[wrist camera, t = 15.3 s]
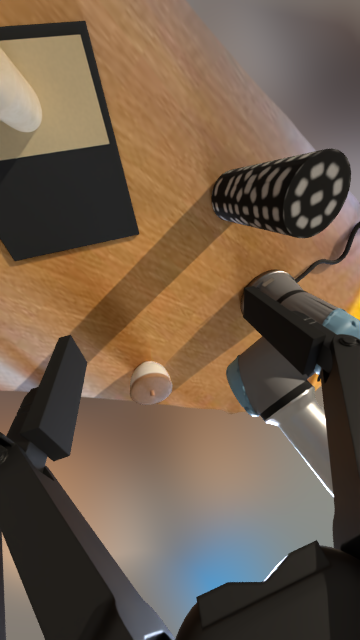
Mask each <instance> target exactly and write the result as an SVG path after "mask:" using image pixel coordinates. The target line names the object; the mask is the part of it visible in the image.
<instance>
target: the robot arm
mask: <svg viewBox="0 0 360 640" xmlns="http://www.w3.org/2000/svg"><path fill="white" fill-rule="evenodd" d="M359 228H360V222H359V223H358V224H357V225H356V226H355V227H354V229H353V230H352V232H351V234H350V236H349V239H348V242H347V245H346V248H345V250H344V252H343V254H342V255H341V256H340V257H339V258H338V259H337V260H334V261H331V260H326V259H321V260H318V261H316V262H315V263H313V264H312V265H311V266H310V267H309V268H308V269H307V270H306V271H305V272H304V273H302V274H301V275H300V276H299V277H298V278H296V279H294V278H293V277H292V276H291V275H290V274H288V273H286V272H284V271H281V270H270V271H266V272H264V273H262V274H260V275H259V276H257V277H256V278H255V279H254V280H253V281H252V282H251V283H250V284H249V285H248V286H247V287H246V288H244V293H243V296H242V299H241V311H242V314H243V317H244V318H245V319H246V320H247V321H248V322H249V323H250V324H251V325H252V326H253V327H254V328H255V329H256V330H257V331H258V332H259V333H260V334H261V335H262V337H261V338H260V339H259V340H257V341H256V342H255V343H254V344H253V345H251V346H250V347H249V348H248V349H247V350H246V351H244V352H243V353H242V354H241V355H238V356H237V358H236V359H235V360H234V361H233V362H232V363H231V364H230V365H229V366H228V367H227V370H226V375H227V380H228V383H229V385H230V387H231V389H232V391H233V393H234V395H235V397H236V398H237V400H238V401H239V403H240V404H241V406H242V407H244V408H245V410H246V412H248V413H249V414H250V415H251V416H254V417H255V416H259V415H260V416H261V417H262V418H263V420H264V421H265V422H266V423H269V424H273V425H276V426H278V427H279V428H280V429H281V430H282V431H283V433H284V434H285V436H286V437H287V438H288V439H289V441H290V442H291V443H292V445H293V446H294V447H295V448H296V450H297V451H298V452H299V453H300V455H301V456H302V457H303V459H304V460H305V461H306V462H307V464H308V465H309V466H310V468H311V469H312V470H313V471H314V473H315V474H316V475H317V476H318V478H319V479H320V480H321V482H322V483H323V484H324V485H325V487H326V488H327V489H328V491H329V492H330V493H331V494H332V496H333V497H334V505H335V514H334V519H333V542H334V548H332V547H327V546H320V545H319V543H318V542H317V540H316V541H314V542H312V543H310V544H308V545H306V546H303V547H302V548H299V549H297V550H295V551H293V552H291V553H289V554H288V555H287V556H286V557H285V558H284V559H283V560H282V561H280V562H279V563H278V564H277V566H276V567H275V568H274V569H273V570H272V571H271V573H270V574H269V575H268V576H267V577H266V578H265V580H264V581H263V582H228V583H226V584H223V585H221V586H219V587H217V588H215V589H213V590H211V591H209V592H207V593H204V594H202V595H200V596H198V597H197V603H196V604H195V605H194V606H193V607H192V609H191V610H190V612H189V613H188V614H187V616H186V617H185V619H184V622H183V623H182V625H181V627H180V629H179V632H178V634H177V636H176V639H175V638H174V636H173V635H172V634H171V632H170V631H169V630H168V628H167V627H166V625H165V624H164V623H163V621H162V620H161V619H160V617H159V616H158V615H157V613H156V612H155V611H154V610H153V609H152V608H151V607H150V606H149V605H148V604H147V603H146V602H145V601H144V600H143V599H142V598H141V596H140V595H139V594H138V592H137V591H136V590H135V588H134V587H133V586H132V584H131V583H130V581H129V580H128V578H127V577H126V576H125V574H124V573H123V572H122V570H121V569H120V567H119V566H118V564H117V563H116V562H115V560H114V559H113V558H112V556H111V555H110V553H109V552H108V550H107V549H106V548H105V546H104V545H103V543H102V542H101V541H100V539H99V538H98V537H97V535H96V534H95V532H94V531H93V530H92V528H91V527H90V525H89V524H88V523H87V521H86V520H85V518H84V517H83V516H82V514H81V513H80V512H79V510H78V509H77V507H76V506H75V504H74V503H73V502H72V500H71V499H70V498H69V496H68V495H67V493H66V492H65V490H64V489H63V488H62V486H61V485H60V484H59V482H58V481H57V479H56V478H55V477H54V475H53V474H52V472H51V471H50V470H49V468H48V467H47V466H45V463H46V459H47V456H48V457H49V458H50V459H51V460H53V461H56V460H58V459H62V458H65V457H67V456H69V455H70V452H71V446H72V441H73V435H74V430H75V425H76V419H77V414H78V409H79V404H80V398H81V393H82V388H83V382H84V377H85V372H86V366H87V361H86V360H85V358H84V356H83V355H82V353H81V351H80V350H79V348H78V346H77V345H76V343H75V341H74V340H73V338H72V336H71V335H68V336H64V337H61V338H59V339H58V342H57V344H56V347H55V349H54V351H53V354H52V356H51V359H50V361H49V363H48V366H47V368H46V371H45V373H44V375H43V378H42V380H41V383H40V385H39V387H36V388H33V389H31V390H30V392H29V393H28V394H27V395H26V396H25V398H24V400H23V402H22V404H21V406H20V408H19V410H18V412H17V416H16V417H15V419H14V421H13V423H12V425H11V427H10V430H9V432H8V434H7V436H5V435H4V434H2V433H1V432H0V640H6V632H5V606H4V580H3V556H2V533H3V536H4V538H5V541H6V543H7V546H8V548H9V550H10V553H11V556H12V558H13V561H14V563H15V565H16V568H17V570H18V573H19V575H20V578H21V580H22V583H23V585H24V588H25V590H26V593H27V595H28V598H29V600H30V603H31V605H32V607H33V610H34V613H35V615H36V618H37V620H38V623H39V625H40V628H41V630H42V633H43V635H44V638H45V640H360V321H359V320H358V319H356V318H355V317H353V316H351V315H350V314H348V313H347V312H346V311H345V310H343V309H340V308H337V307H335V306H333V305H331V304H329V303H327V302H325V301H323V300H321V299H320V298H318V297H316V296H314V295H312V294H310V293H308V292H306V291H304V290H303V289H302V288H301V287H300V286H299V285H298V284H297V282H299V281H300V280H301V279H302V278H304V277H305V276H306V275H307V274H308V273H309V272H310V271H311V270H312V269H313V268H314V267H316V266H317V265H318V264H321V263H326V264H332V265H333V264H337V263H339V262H340V261H342V260H343V259H344V258H345V257H346V255H347V254H348V252H349V250H350V247H351V245H352V242H353V239H354V236H355V234H356V232H357V230H358V229H359ZM314 373H317V374H318V375H319V376H318V380H317V381H320V379H321V383H322V392H323V402H324V409H323V408H322V406H321V405H320V404H319V403H318V402H317V401H316V400H315V388H314V386H312V385H311V384H310V383H309V382H308V381H307V379H308V378H309V377H310V376H312V375H313V374H314Z"/></svg>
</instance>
